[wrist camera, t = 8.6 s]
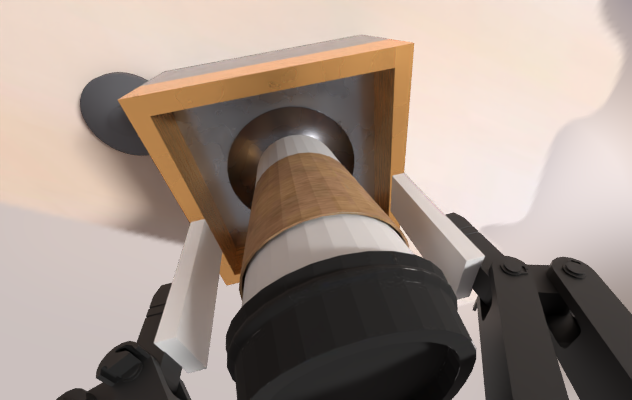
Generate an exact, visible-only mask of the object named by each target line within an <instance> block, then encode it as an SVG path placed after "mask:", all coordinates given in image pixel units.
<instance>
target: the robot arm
mask: <svg viewBox="0 0 632 400" xmlns="http://www.w3.org/2000/svg"><path fill="white" fill-rule="evenodd" d="M391 213H392V214H393V215H394V217H395V218H396V220H397V221H398V223H399V224H400V225H401V227H402V228H403V230H404V231H405V232H406V234H407V235H408V237H409V238H410V240H411V241H412V242H413V244H414V245H415V247H416V248H417V249H418V251H419V252H420V254H421V255H422V257H423V258H424V259H426V260H429V261H431V262H432V263H433V264H435V265H436V266H437V267H438V268H439V269H441V270H442V272H443V274H444V275H445V277H446V279H447V281H448V284H450V285H451V287H452V289H453V291H454V293H455V295H456V297H457V300H458V299H461V298H465V297H469V296H470V293H471V291H472V288H473V290H474V291H475V292H476V293H477V295H478V297H477V299H476V302H475V304H474V307H473V310H474V311H476V309H478V320H479V331H480V342H481V353H482V363H483V375H484V385H485V397H486V400H569V398H568V395H567V391H566V388H565V384H564V381H563V378H562V374H561V371H560V367H559V364H558V360H559V362H560V364H561V366H562V368H563V369H564V371H565V373H566V375H567V377H568V379H569V380H570V382H571V384H572V386H573V388H574V390H575V391H576V393H577V395H578V397H579V399H580V400H632V314H631V313H630V312H629V311H628V309H627V308H626V307H625V306H624V305H623V304H622V302H621V301H620V300H619V299H618V298H617V297H616V296H615V294H614V293H613V292H612V291H611V290H610V289H609V287H608V286H607V285H606V284H605V283H604V282H603V280H602V279H601V278H600V277H599V276H598V274H597V273H596V272H595V271H594V270H593V269H592V268H590V267H589V266H588V265H586V264H585V263H583V262H581V261H579V260H576V259H573V258H568V257H559V258H556V259H554V260H553V261H552V263H551V264H550V265H527V264H525V263H524V262H522V261H520V260H518V259H516V258H513V257H510V256H504V255H503V254H502V253H501V252H500V251H499V250H497V249H496V248H495V247H494V246H493V245H492V244H491V243H490V242H489V241H488V240H487V239H486V238H485V237H484V236H483V235H482V234H481V233H479V232H478V230H476V229H475V228H474V227H472V225H471V224H470V223H469V222H468V221H467V220H466V219H465V218H463V217H462V216H460V215H458V214H456V213H450V214H446V215H445V214H444V213H443V212H442V211H441V210H440V209H439V208H438V207H437V206H436V205H435V204H434V203H433V202H432V201H431V200H430V199H429V198H428V197H427V196H426V195H425V194H424V192H423V191H422V190H421V189H420V188H419V187H418V186H417V185H416V184H415V183H414V182H413V181H412V180H411V179H410V178H409V177H408V176H407V175H406V174H405V173H401V174H397V175H393V176H392V190H391ZM221 258H222V250H221V248H220V247H219V245H218V243H217V241H216V239H215V237H214V235H213V233H212V232H211V230H210V228H209V226H208V224H207V222H206V220H205V219H202V220H198V221H193V222H191V223H190V227H189V230H188V233H187V236H186V240H185V243H184V246H183V249H182V253H181V256H180V260H179V262H178V266H177V269H176V273H175V275H174V279H173V282H172V283H169V284H165V285H162V286H161V287H160V288H159V289H158V291H157V292H156V294H155V295H154V297H153V299H152V302H151V305H150V309H149V310H148V313H147V315H146V317H147V318H146V319H145V321H144V324H143V327H142V329H141V332H140V335H139V338H138V340H137V343H136V342H132V341H128V342H124V343H121V344H120V345H118V346H116V347H114V348H113V349H112V350H111V351H110V352H109V353H108V354H107V355H106V356H105V357H104V358H103V360H102V361H101V363H100V364H99V367H98V369H97V372H96V378H97V379H99V380H100V381H102V382H103V383H101V384H99V385H98V386H96V387H94V388H92V389H91V390H89V391H85V390H84V389H80V388H75V389H72V390H70V391H67V392H66V393H64V394H63V395H61V396H60V397H58V398H57V399H56V400H191V398H190V396H189V394H188V392H187V390H186V387H185V385H184V383H183V381H182V380H181V379H180V375H181V370H182V369H184V370H185V371H186V372H187V373H192V372H195V371H198V370H202V369H206V368H207V362H208V354H209V347H210V339H211V332H212V324H213V317H214V310H215V302H216V295H217V287H218V280H219V273H220V265H221ZM557 359H558V360H557Z"/></svg>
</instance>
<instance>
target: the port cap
mask: <svg viewBox="0 0 632 400" xmlns="http://www.w3.org/2000/svg"><path fill="white" fill-rule="evenodd" d="M146 82H148V80H146V79H144V78H142V77H139V76H137V75H133V74H130V73H123V72H115V73H109V74H105V75H102V76H100V77H97V78H95V79H93V80H92V81H90V82H89V83H88V84H87V85H86V86H85V88H84V89H83V92H82V94H81V99H80V107H81V112H82V115H83V118H84V120H85V122H86V123H87V125H88V127H89V128H90V129H91V131H92V132H93V133H94V134H95V135H96V136H97V137H98V138H99V139H100V140H102V141H103V142H104V143H106V144H107V145H109V146H110V147H112V148H114V149H116V150H119V151H121V152H124V153H127V154H132V155H150V154H149V153H148V151H147V149H146V147H145V146H144V144H143V142H142V141H141V139H140V137H139V136H138V134H137V132H136V130H135V129H134V127H133V125H132V124H131V122H130V120H129V119H128V117H127V115H126V113H125V112H124V110H123V108H122V107H121V105H120V103H119V102H118V99H120V98H121V97H123V96H125V95H126V94H128V93H130V92H131V91H133V90H135V89H136V88H138V87H139V86H141V85H143V84H144V83H146Z"/></svg>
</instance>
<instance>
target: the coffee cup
mask: <svg viewBox="0 0 632 400" xmlns="http://www.w3.org/2000/svg"><path fill="white" fill-rule="evenodd" d="M239 291H240V295H241V299H242V308H241V309H240V310H239V312H238V313H237V314H236V316H235V317H234V318H233V320H232V321H231V324H230V326H229V329H228V331H227V334H226V351H227V368H228V370H229V373H230V375H231V377H232V379H233V380H234V381H235V382H236V390H237V400H452V398H453V397H454V396H455V395H456V394H457V393H458V392H459V390H460V389H461V388H462V386H463V385H464V383H465V382H466V380H467V379H468V377H469V375H470V373H471V372H472V369H473V367H474V364H475V360H476V348H475V345H474V344H473V341H472V339H471V338H470V336H469V334H468V332H467V330H466V328H465V326H464V324H463V322H462V320H461V318H460V316H459V314H458V312H457V297H456V295H455V293H454V291H453V289H452V287H451V285H450V284H448V281H447V279H446V277H445V275H444V274H443V272H442V270H441V269H439V268H438V267H437V266H436V265H435V264H433V263H432V262H431V261H429V260H426V259H424V258H422V257H419V256H417V255H414V254H413V253H412V251H411V250H410V249H409V245H408V241H407V239H406V238H405V236H404V234H403V233H402V231H401V230H400V229H399V228H398V227H397V226H396V224H395V223H394V222H393V221H392V220H391V219H390V218H389V216H388V215H387V214H386V213H385V212H384V211H383V210H382V209H381V207H380V206H379V205H378V204H377V203H376V202H375V201H374V200H373V198H372V197H371V196H370V195H369V194H368V193H367V192H366V191H365V189H364V188H363V187H362V186H361V185H360V184H359V183H358V182H357V180H356V179H355V178H354V177H353V176H352V175H351V174H350V173H349V171H348V170H347V169H346V168H345V167H344V166H343V165H342V164H341V163H340V162H339V161H338V159H337V158H336V157H335V156H334V154H333V153H332V152H331V151H330V150H329V148H328V147H327V146H326V145H325V144H323V143H322V142H321V141H319V140H317V139H316V138H313V137H310V136H306V135H291V136H287V137H283V138H281V139H279V140H277V141H275V142H274V143H273V144H271V145H270V146H269V147H268V148H267V149H266V150H265V151H264V153H263V154H262V156H261V158H260V161H259V164H258V168H257V176H256V185H255V190H254V195H253V201H252V207H251V213H250V219H249V225H248V231H247V237H246V243H245V249H244V256H243V262H242V268H241V274H240V284H239Z"/></svg>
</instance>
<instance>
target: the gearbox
mask: <svg viewBox="0 0 632 400" xmlns="http://www.w3.org/2000/svg"><path fill="white" fill-rule="evenodd" d="M413 52H414V43H411V42H405V41H399V40H392V39H386V38H380V37H373V36H367V35H358V36H353V37H347V38H342V39H336V40H331V41H326V42H320V43H315V44H310V45H304V46H299V47H293V48H288V49H283V50H277V51H272V52H267V53H261V54H256V55H250V56H245V57H240V58H234V59H229V60H223V61H218V62H213V63H207V64H202V65H197V66H191V67H186V68H180V69H175V70H170V71H164V72H163V73H161V74H159V75H158V76H156V77H154V78H153V79H151V80H149V81H148V82H146V83H144V84H143V85H141V86H139V87H138V88H136V89H135V90H133V91H131V92H130V93H128V94H126V95H125V96H123V97H121V98H120V99H118V102H119V103H120V105H121V107H122V108H123V110H124V112H125V113H126V115H127V117H128V119H129V120H130V122H131V124H132V125H133V127H134V129H135V130H136V132H137V134H138V136H139V137H140V139H141V141H142V142H143V144H144V146H145V147H146V149H147V151H148V153H149V154H150V156H151V158H152V159H153V161H154V163H155V165H156V166H157V168H158V170H159V171H160V173H161V175H162V176H163V178H164V180H165V182H166V183H167V185H168V187H169V188H170V190H171V192H172V193H173V195H174V197H175V199H176V200H177V202H178V204H179V205H180V207H181V209H182V210H183V212H184V214H185V216H186V217H187V219H188V221H189V222H190V223H191V222H193V221H198V220H202V219H205V220H206V222H207V224H208V226H209V228H210V230H211V232H212V233H213V235H214V237H215V239H216V241H217V243H218V245H219V247H220V248H221V250H222V258H221V265H220V275H221V277H222V278H223V280H224V282H225V284H226V285H231V284H235V283H239V282H240V274H241V268H242V262H243V256H244V249H245V243H246V237H247V231H248V225H249V219H250V213H251V207H252V201H253V195H254V190H255V185H256V176H257V168H258V164H259V161H260V158H261V156H262V154H263V153H264V151H265V150H266V149H267V148H268V147H269V146H270V145H271V144H273V143H274V142H275V141H277V140H279V139H281V138H283V137H287V136H291V135H306V136H310V137H313V138H316V139H317V140H319V141H321V142H322V143H323V144H325V145H326V146H327V147H328V148H329V150H330V151H331V152H332V153H333V154H334V156H335V157H336V158H337V159H338V161H339V162H340V163H341V164H342V165H343V166H344V167H345V168H346V169H347V170H348V171H349V173H350V174H351V175H352V176H353V177H354V178H355V179H356V180H357V182H358V183H359V184H360V185H361V186H362V187H363V188H364V189H365V191H366V192H367V193H368V194H369V195H370V196H371V197H372V198H373V200H374V201H375V202H376V203H377V204H378V205H379V206H380V207H381V209H382V210H383V211H384V212H385V213H386V214H387V215H388V216H389V218H390V219H391V220H392V221H393V222H394V223H395V224H396V226H397V227H398V228H399V229H400V224H399V223H398V221H397V220H396V218H395V217H394V215H393V214H392V213H391V190H392V176H393V175H397V174H401V173H404V166H405V153H406V141H407V128H408V115H409V102H410V90H411V77H412V64H413Z"/></svg>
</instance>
